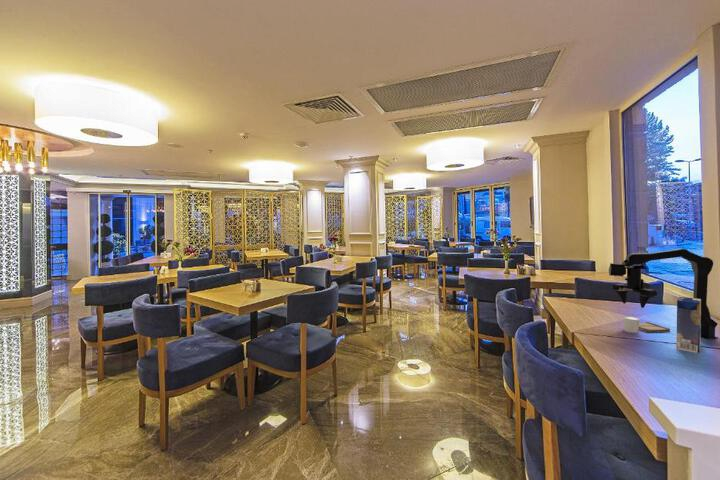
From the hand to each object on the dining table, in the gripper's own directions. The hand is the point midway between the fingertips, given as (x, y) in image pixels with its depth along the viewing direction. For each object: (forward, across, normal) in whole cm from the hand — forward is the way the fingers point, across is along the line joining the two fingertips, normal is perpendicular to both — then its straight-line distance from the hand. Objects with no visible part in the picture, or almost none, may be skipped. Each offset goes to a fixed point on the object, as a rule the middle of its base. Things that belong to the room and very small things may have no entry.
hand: (633, 305), depth 163 cm
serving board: (+13, -1, -8) cm, 15 cm away
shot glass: (+13, -3, +4) cm, 14 cm away
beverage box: (+13, -26, +2) cm, 29 cm away
